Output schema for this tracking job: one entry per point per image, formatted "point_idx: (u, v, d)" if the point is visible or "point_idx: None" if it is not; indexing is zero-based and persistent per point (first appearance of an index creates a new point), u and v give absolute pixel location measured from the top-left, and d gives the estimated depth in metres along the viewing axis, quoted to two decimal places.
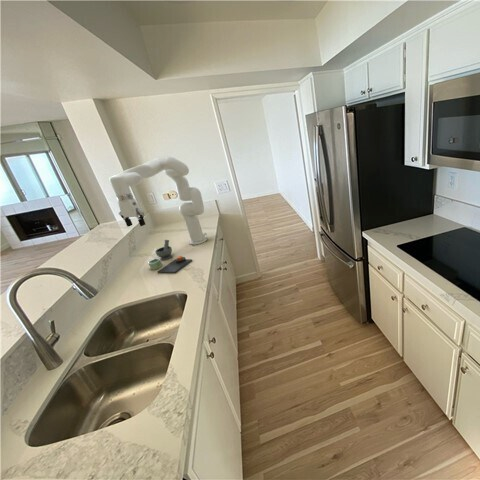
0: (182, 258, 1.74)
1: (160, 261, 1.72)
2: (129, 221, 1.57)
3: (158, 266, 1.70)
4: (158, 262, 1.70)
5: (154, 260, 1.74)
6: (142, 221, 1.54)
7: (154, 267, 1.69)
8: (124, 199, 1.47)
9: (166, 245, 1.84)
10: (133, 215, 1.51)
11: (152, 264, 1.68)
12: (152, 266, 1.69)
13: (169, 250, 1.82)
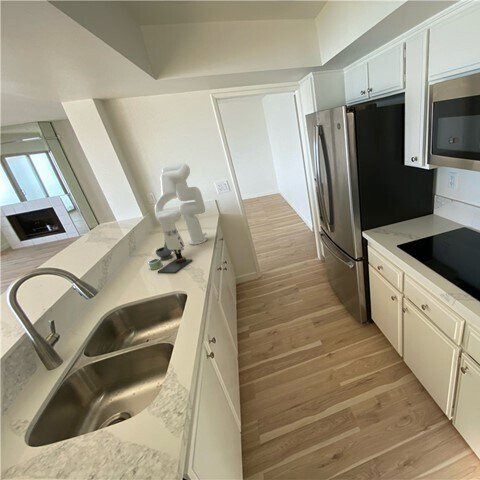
0: None
1: (160, 261, 1.72)
2: None
3: (158, 266, 1.70)
4: (158, 262, 1.70)
5: (154, 260, 1.74)
6: (180, 255, 1.72)
7: (154, 267, 1.69)
8: (170, 234, 1.64)
9: None
10: (177, 248, 1.68)
11: (152, 264, 1.68)
12: (152, 266, 1.69)
13: (169, 250, 1.82)
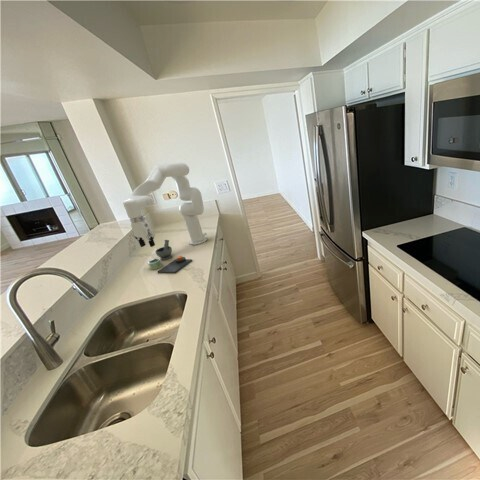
0: (182, 258, 1.74)
1: (160, 261, 1.72)
2: (142, 242, 1.67)
3: (158, 266, 1.70)
4: (158, 262, 1.70)
5: (154, 260, 1.74)
6: (152, 242, 1.64)
7: (154, 267, 1.69)
8: (137, 221, 1.57)
9: (166, 245, 1.84)
10: (145, 236, 1.61)
11: (152, 264, 1.68)
12: (152, 266, 1.69)
13: (169, 250, 1.82)
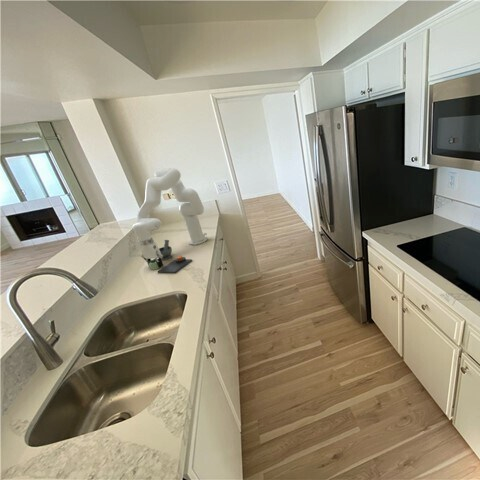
0: (182, 258, 1.74)
1: None
2: None
3: (158, 266, 1.70)
4: None
5: (154, 260, 1.74)
6: (160, 263, 1.70)
7: (154, 267, 1.69)
8: (146, 244, 1.63)
9: (166, 245, 1.84)
10: (153, 257, 1.67)
11: (152, 264, 1.68)
12: (152, 266, 1.69)
13: (169, 250, 1.82)
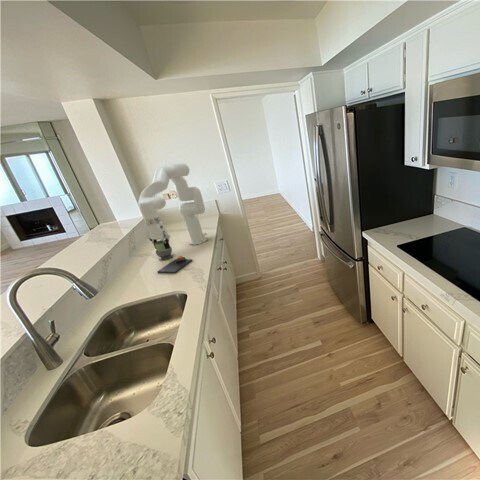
0: (182, 258, 1.74)
1: None
2: None
3: None
4: None
5: (160, 242, 1.64)
6: (167, 244, 1.61)
7: (160, 248, 1.60)
8: (152, 223, 1.53)
9: None
10: (160, 238, 1.57)
11: (158, 245, 1.59)
12: (158, 247, 1.59)
13: (169, 250, 1.82)
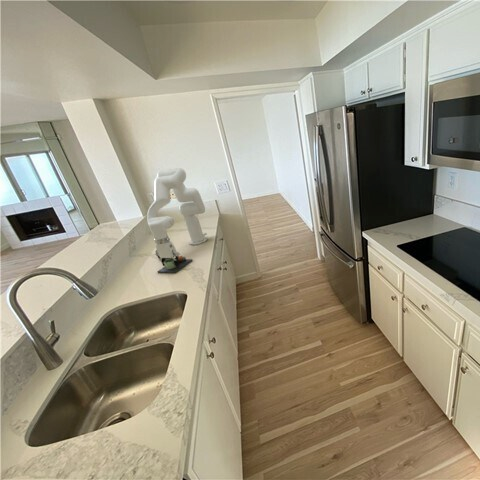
0: (182, 258, 1.74)
1: None
2: None
3: (174, 266, 1.65)
4: None
5: (169, 259, 1.68)
6: (177, 261, 1.65)
7: (170, 267, 1.64)
8: (162, 243, 1.58)
9: None
10: (169, 256, 1.62)
11: (168, 263, 1.63)
12: (168, 266, 1.63)
13: None
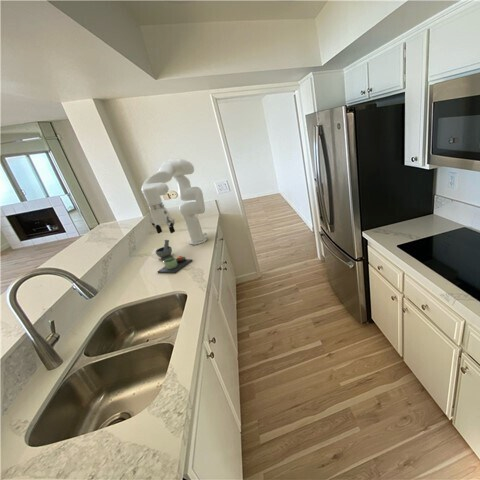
0: (182, 258, 1.74)
1: None
2: (159, 228, 1.66)
3: (174, 266, 1.65)
4: (174, 261, 1.65)
5: (169, 259, 1.68)
6: (172, 228, 1.63)
7: (170, 267, 1.64)
8: (156, 208, 1.56)
9: (166, 245, 1.84)
10: (164, 223, 1.61)
11: (168, 263, 1.63)
12: (168, 266, 1.63)
13: (169, 250, 1.82)
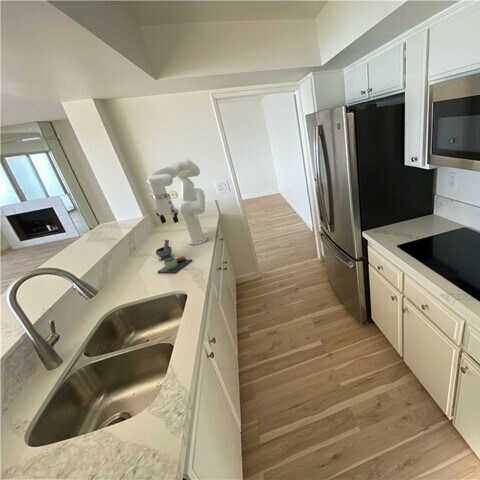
0: (182, 258, 1.74)
1: None
2: (163, 218, 1.72)
3: (174, 266, 1.65)
4: (174, 261, 1.65)
5: (169, 259, 1.68)
6: (176, 218, 1.69)
7: (170, 267, 1.64)
8: (161, 198, 1.62)
9: (166, 245, 1.84)
10: (168, 213, 1.66)
11: (168, 263, 1.63)
12: (168, 266, 1.63)
13: (169, 250, 1.82)
